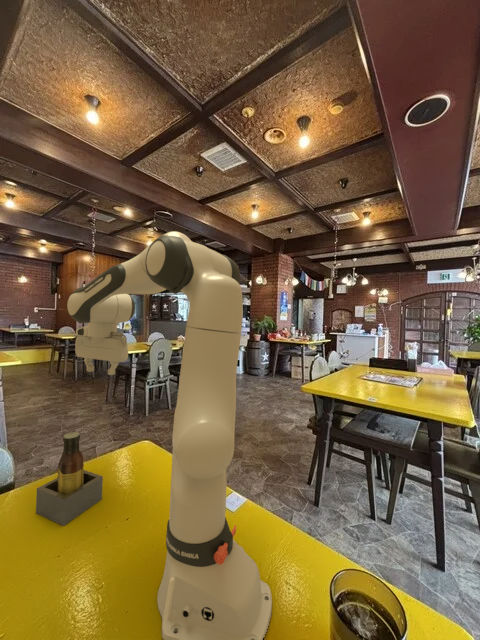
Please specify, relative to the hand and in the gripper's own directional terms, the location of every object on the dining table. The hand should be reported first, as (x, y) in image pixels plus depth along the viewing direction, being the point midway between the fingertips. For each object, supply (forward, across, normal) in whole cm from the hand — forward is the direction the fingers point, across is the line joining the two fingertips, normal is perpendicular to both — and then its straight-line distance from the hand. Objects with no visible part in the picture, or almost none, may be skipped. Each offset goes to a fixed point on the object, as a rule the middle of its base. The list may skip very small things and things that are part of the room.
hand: (100, 372), depth 93 cm
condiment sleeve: (+35, -5, +13) cm, 38 cm away
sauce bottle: (+34, -5, +13) cm, 37 cm away
